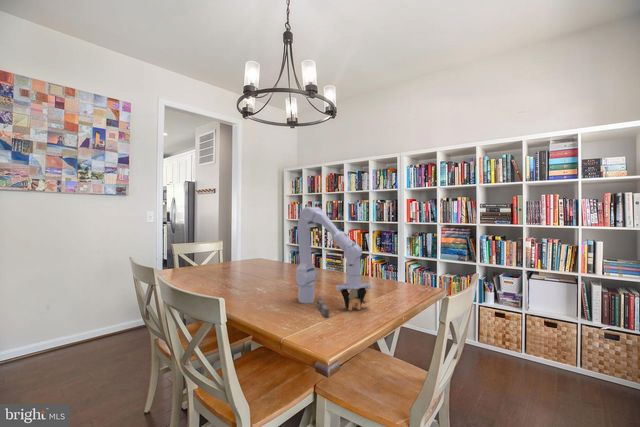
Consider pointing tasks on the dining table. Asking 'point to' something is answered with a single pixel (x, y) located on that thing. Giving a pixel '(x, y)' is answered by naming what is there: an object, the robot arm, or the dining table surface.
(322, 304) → the stand
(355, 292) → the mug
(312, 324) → the dining table surface
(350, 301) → the u-shaped block
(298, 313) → the dining table surface
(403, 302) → the dining table surface
